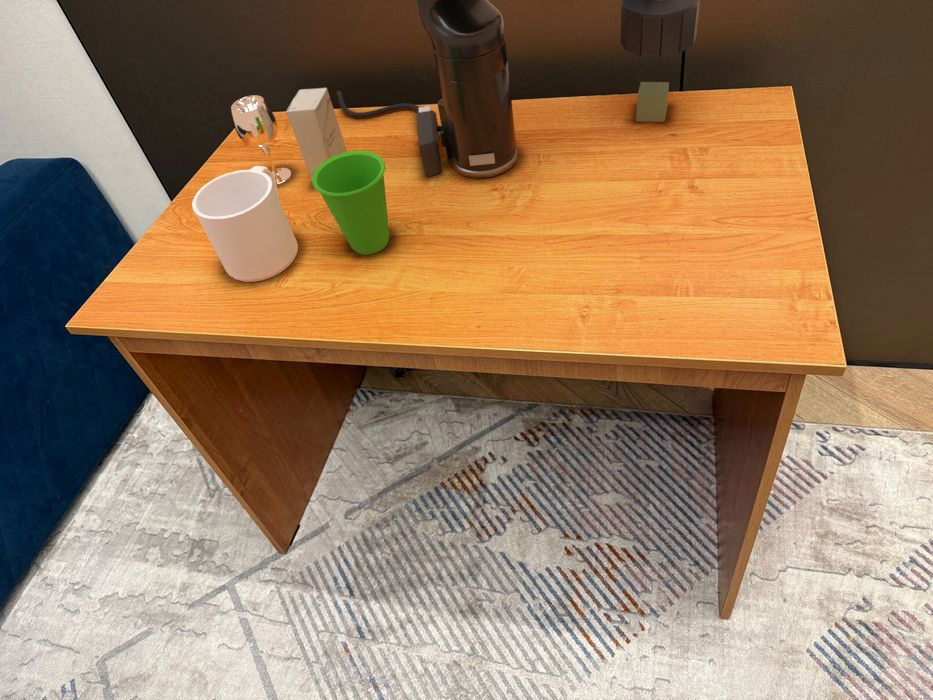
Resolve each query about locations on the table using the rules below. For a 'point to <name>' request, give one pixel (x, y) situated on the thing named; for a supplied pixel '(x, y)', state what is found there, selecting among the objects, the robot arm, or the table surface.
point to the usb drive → (429, 140)
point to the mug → (246, 224)
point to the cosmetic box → (315, 127)
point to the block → (652, 101)
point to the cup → (356, 198)
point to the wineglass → (258, 129)
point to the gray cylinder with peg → (658, 26)
